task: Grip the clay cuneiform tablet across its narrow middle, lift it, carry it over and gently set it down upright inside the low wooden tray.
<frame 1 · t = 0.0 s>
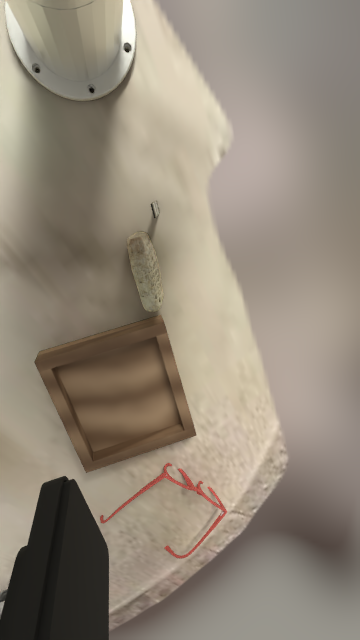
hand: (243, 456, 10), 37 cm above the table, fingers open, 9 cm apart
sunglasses: (163, 500, 59), on the table
wooden tray: (122, 389, 50), on the table
cuneiform tablet: (148, 252, 44), on the table
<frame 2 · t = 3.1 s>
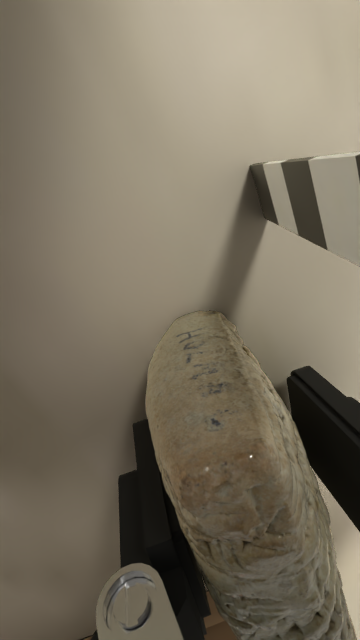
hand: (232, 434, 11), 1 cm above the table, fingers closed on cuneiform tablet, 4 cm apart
cuneiform tablet: (229, 379, 11), on the table, touching gripper
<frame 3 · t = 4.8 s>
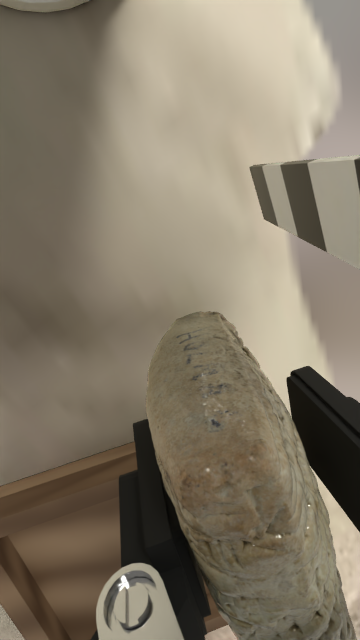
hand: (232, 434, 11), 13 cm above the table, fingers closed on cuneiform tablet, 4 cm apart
wooden tray: (123, 543, 29), on the table
cuneiform tablet: (229, 379, 11), point 12 cm above the table, touching gripper
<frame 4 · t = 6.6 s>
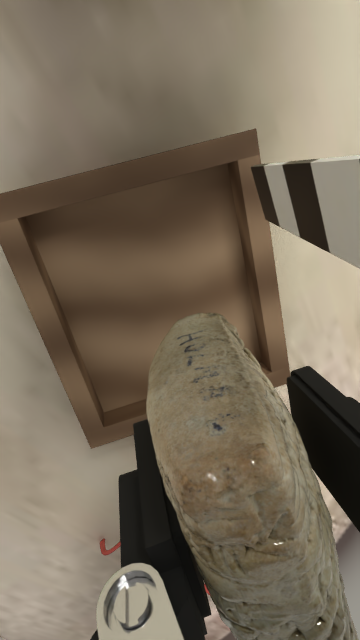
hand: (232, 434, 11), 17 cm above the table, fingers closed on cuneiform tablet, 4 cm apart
wooden tray: (158, 295, 27), on the table
cuneiform tablet: (230, 381, 11), point 16 cm above the table, touching gripper
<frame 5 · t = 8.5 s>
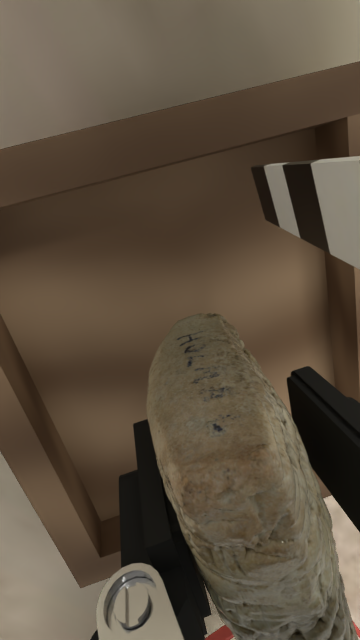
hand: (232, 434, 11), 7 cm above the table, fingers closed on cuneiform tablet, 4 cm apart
wooden tray: (186, 344, 17), on the table
cuneiform tablet: (230, 381, 11), point 6 cm above the table, touching gripper
when the fingers open (3 cm above the table, at t = 10.0 s): cuneiform tablet drops 1 cm, resting on wooden tray.
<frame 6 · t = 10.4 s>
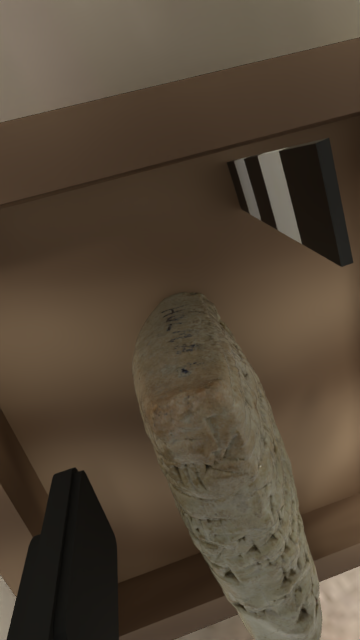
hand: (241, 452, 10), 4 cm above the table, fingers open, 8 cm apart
wooden tray: (203, 379, 14), on the table
cuneiform tablet: (212, 356, 12), point 1 cm above the table, touching wooden tray
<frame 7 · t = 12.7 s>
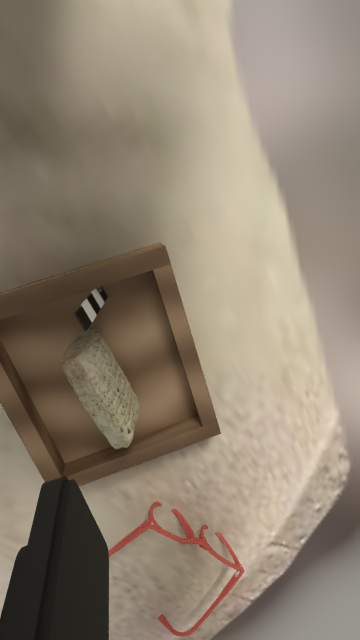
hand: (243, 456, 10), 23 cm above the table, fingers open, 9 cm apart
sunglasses: (152, 554, 42), on the table
wooden tray: (105, 366, 32), on the table
cuneiform tablet: (106, 352, 31), point 1 cm above the table, touching wooden tray
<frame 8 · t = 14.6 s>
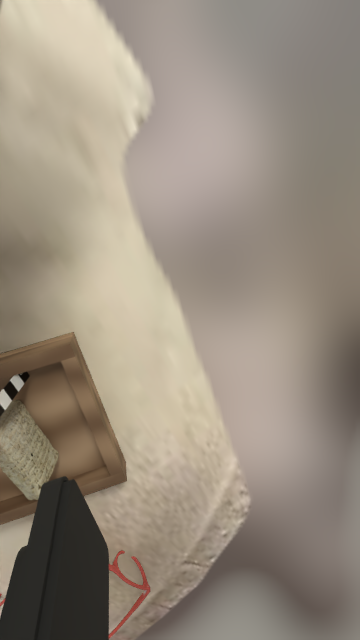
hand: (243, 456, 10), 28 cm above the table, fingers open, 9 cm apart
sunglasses: (78, 573, 49), on the table
wooden tray: (30, 425, 39), on the table
cuneiform tablet: (30, 416, 38), point 1 cm above the table, touching wooden tray
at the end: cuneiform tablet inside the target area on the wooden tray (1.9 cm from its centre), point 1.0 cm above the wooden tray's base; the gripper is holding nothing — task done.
